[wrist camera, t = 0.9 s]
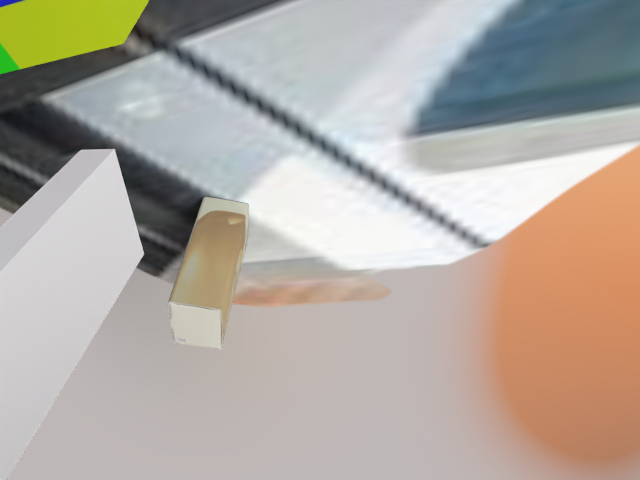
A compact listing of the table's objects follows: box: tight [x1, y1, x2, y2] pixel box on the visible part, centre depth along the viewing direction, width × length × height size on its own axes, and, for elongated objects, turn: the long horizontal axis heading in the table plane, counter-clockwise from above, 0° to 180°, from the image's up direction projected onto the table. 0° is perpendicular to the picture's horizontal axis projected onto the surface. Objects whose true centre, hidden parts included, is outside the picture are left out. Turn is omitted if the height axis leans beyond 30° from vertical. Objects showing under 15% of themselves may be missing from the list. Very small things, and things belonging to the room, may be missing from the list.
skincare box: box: [168, 197, 249, 349], centre depth 51 cm, size 6×4×12 cm
